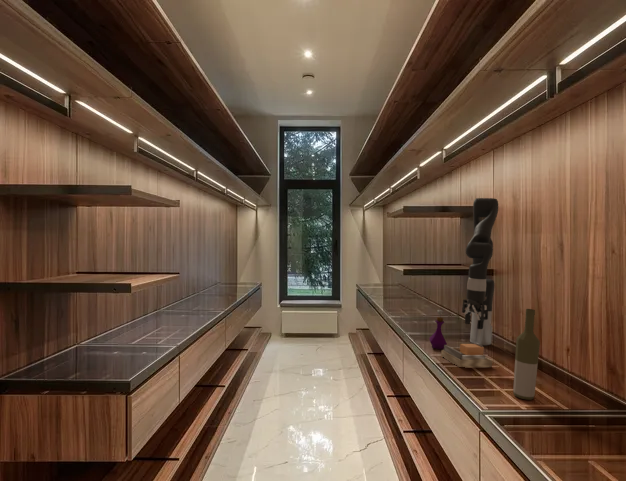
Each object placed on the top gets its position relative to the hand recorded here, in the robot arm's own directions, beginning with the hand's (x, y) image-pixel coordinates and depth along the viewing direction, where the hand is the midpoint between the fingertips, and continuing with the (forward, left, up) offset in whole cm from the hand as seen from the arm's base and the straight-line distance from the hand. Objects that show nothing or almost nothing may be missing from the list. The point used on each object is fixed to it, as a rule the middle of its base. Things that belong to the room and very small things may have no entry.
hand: (473, 326), depth 171 cm
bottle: (+5, +36, -16) cm, 40 cm away
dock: (+3, 0, -15) cm, 16 cm away
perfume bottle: (+4, -20, -16) cm, 26 cm away
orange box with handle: (0, 0, -12) cm, 12 cm away
